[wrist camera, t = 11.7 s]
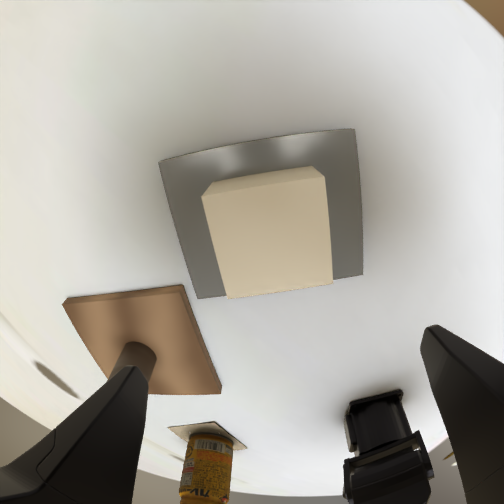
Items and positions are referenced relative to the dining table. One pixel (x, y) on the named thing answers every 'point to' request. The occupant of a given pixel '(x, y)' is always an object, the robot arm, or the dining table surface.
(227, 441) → the condiment
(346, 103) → the dining table surface
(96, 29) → the dining table surface
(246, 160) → the pad
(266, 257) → the tan cardboard carton
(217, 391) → the post base
